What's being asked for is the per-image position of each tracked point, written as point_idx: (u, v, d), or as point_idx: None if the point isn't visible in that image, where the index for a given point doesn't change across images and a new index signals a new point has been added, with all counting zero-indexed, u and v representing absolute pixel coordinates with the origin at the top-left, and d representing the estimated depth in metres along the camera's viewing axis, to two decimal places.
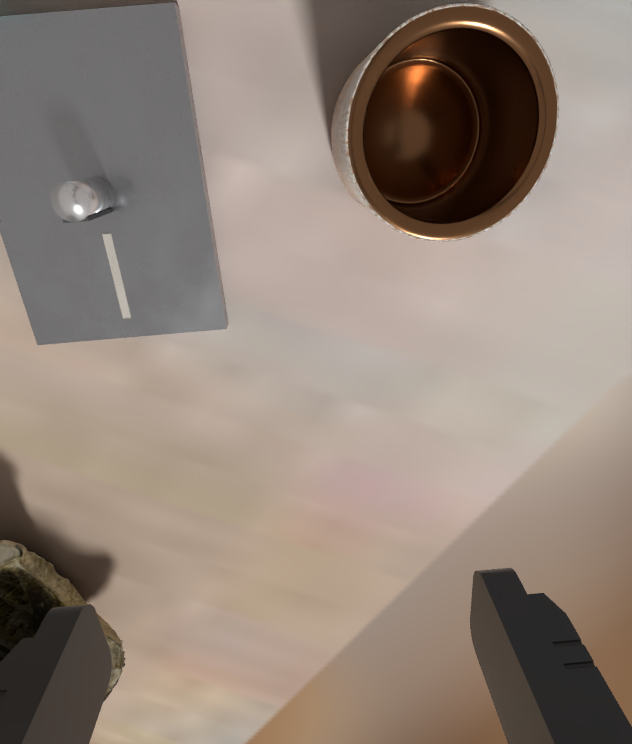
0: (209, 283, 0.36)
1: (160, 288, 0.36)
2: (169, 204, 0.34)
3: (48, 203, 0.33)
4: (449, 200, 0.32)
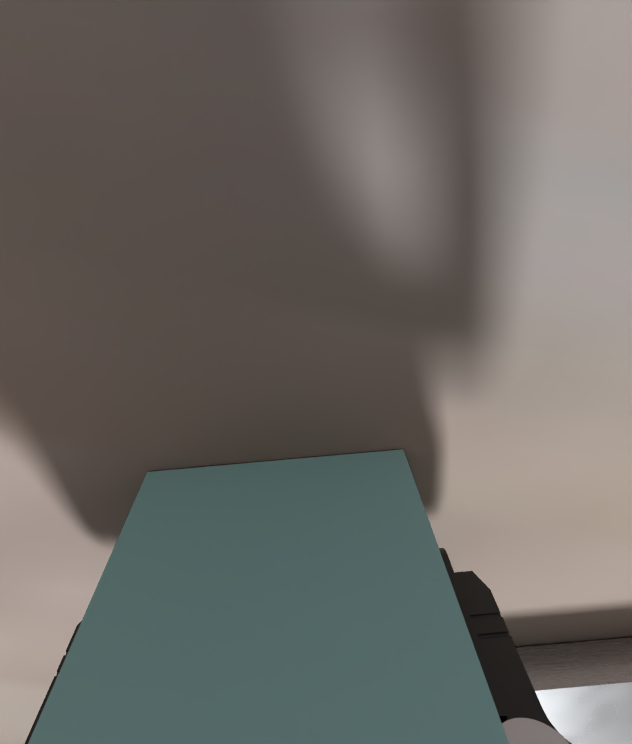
0: None
1: None
2: None
3: None
4: None
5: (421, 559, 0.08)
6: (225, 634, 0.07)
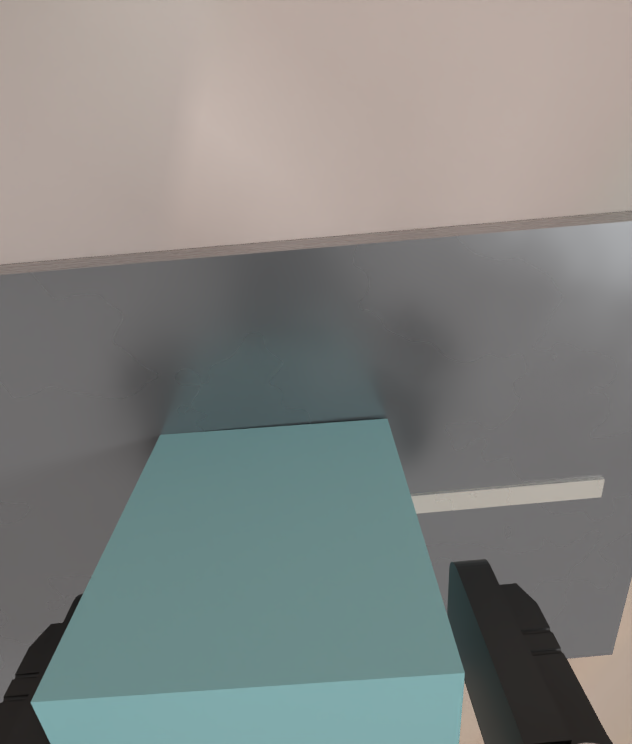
0: (556, 259, 0.11)
1: (540, 399, 0.12)
2: (310, 355, 0.12)
3: None
4: None
5: (395, 503, 0.10)
6: (225, 556, 0.09)
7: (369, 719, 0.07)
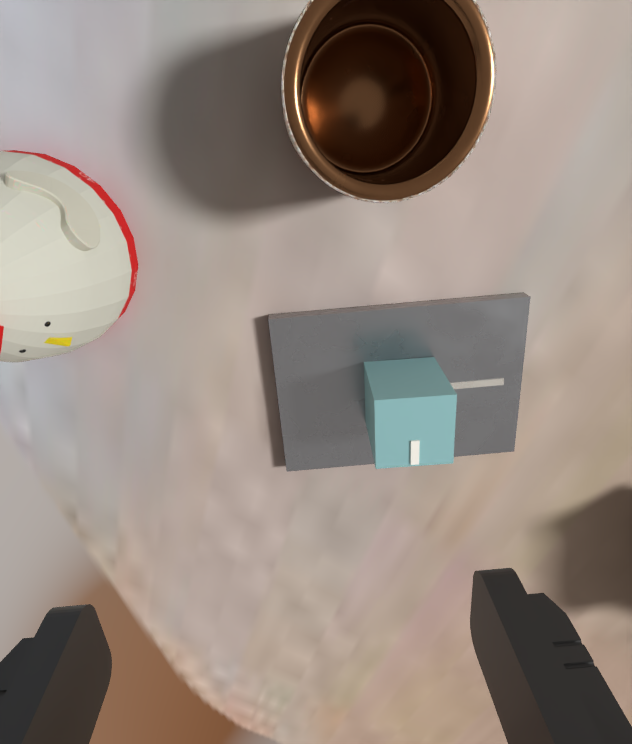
0: (484, 309, 0.39)
1: (481, 351, 0.40)
2: (412, 337, 0.39)
3: None
4: (437, 60, 0.30)
5: (439, 373, 0.37)
6: (401, 383, 0.36)
7: (438, 406, 0.34)
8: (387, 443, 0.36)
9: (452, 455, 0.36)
